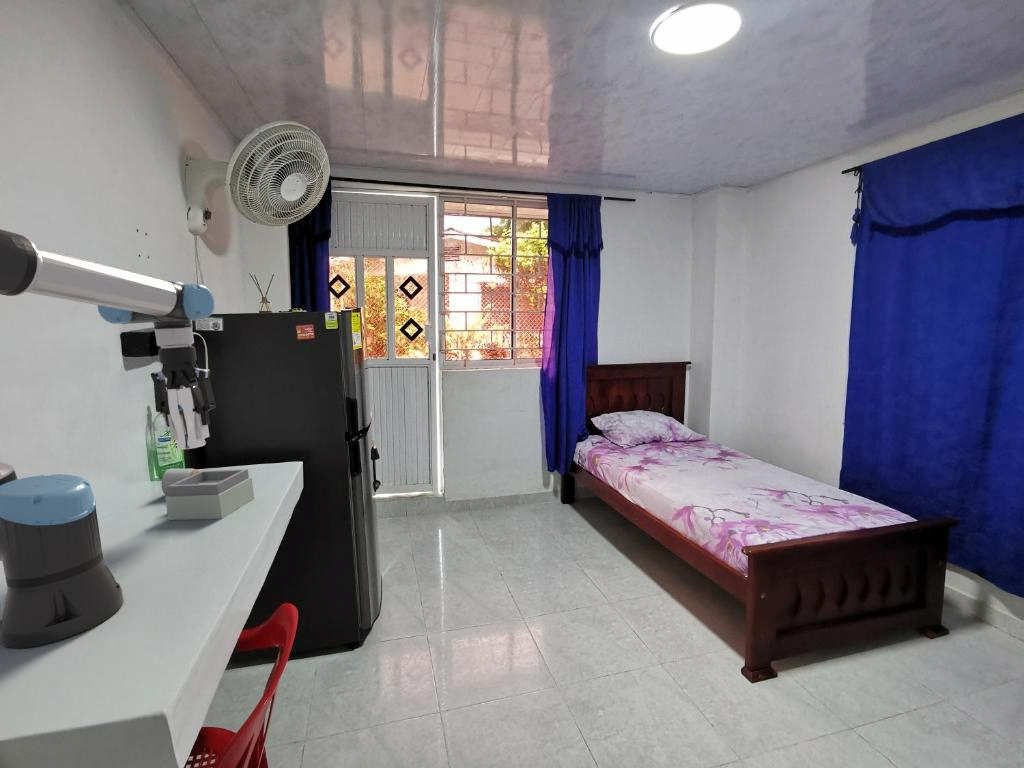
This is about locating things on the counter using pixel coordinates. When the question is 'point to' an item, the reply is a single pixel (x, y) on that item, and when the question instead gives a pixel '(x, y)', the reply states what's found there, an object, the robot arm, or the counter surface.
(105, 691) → the counter surface
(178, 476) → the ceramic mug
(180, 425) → the beer glass
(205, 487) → the grey box with knob
